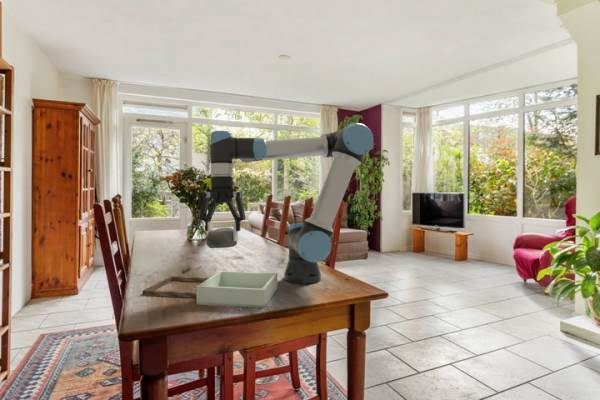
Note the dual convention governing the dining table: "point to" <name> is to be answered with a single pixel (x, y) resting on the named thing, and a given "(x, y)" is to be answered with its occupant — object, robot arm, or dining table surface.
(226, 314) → the dining table surface
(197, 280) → the frame
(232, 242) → the stone
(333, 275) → the dining table surface
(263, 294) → the bin
